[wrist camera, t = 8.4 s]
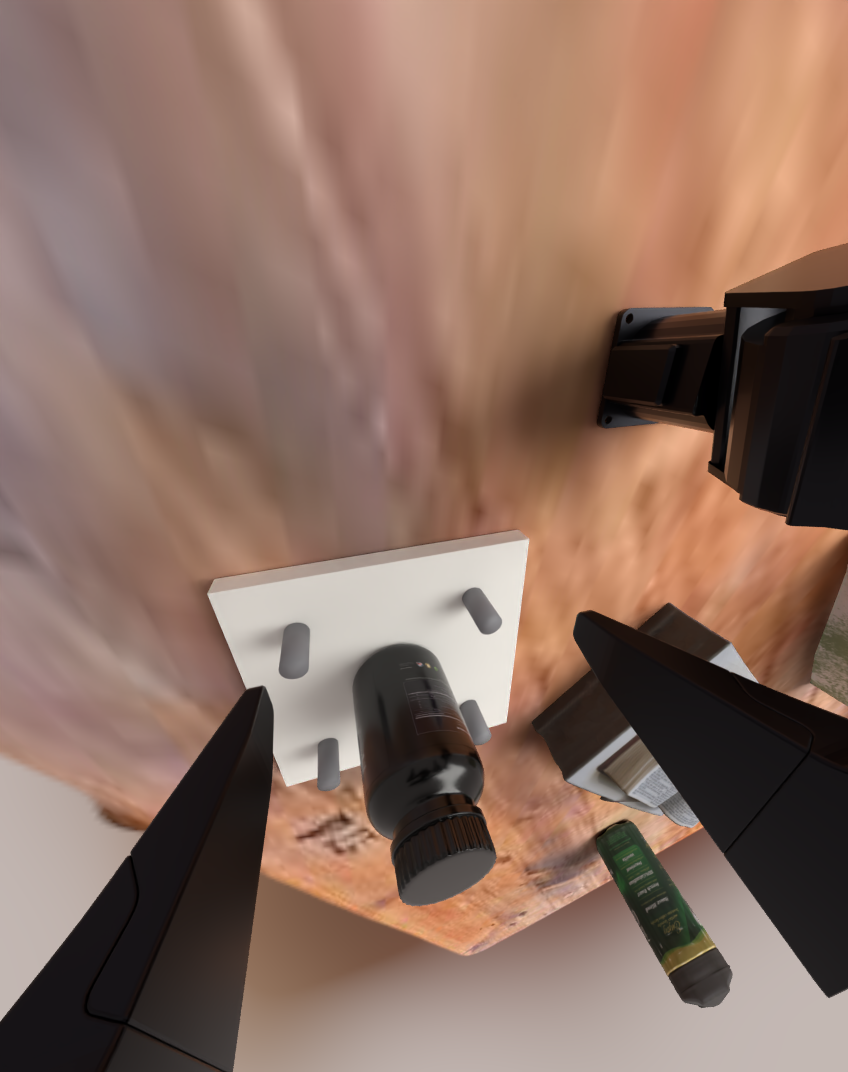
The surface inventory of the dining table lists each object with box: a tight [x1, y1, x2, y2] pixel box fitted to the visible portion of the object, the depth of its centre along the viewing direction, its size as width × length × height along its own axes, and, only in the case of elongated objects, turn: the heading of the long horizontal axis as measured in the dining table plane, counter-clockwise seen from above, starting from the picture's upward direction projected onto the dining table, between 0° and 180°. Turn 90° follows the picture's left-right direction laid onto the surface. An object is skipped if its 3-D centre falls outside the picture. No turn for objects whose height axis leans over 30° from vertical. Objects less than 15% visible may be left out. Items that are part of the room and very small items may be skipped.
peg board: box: [207, 530, 529, 791], centre depth 25 cm, size 20×20×4 cm
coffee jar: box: [596, 821, 732, 1008], centre depth 52 cm, size 10×8×19 cm
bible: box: [532, 603, 758, 828], centre depth 37 cm, size 23×27×10 cm
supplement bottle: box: [352, 644, 497, 906], centre depth 21 cm, size 7×7×12 cm
